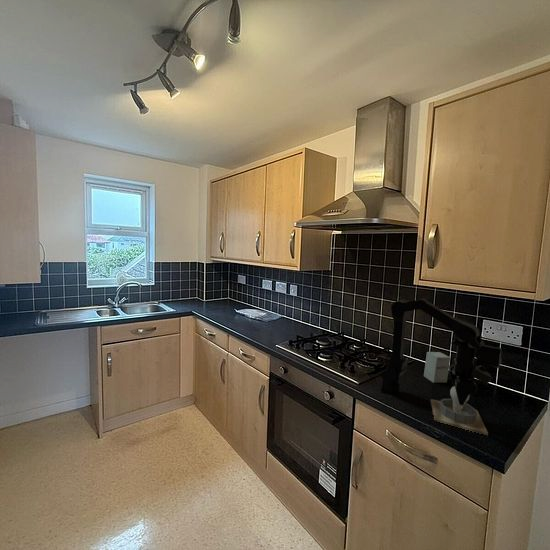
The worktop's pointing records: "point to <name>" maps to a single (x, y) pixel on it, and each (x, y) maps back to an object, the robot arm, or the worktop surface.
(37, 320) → the worktop surface
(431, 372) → the supplement box
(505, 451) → the worktop surface
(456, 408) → the lightbulb
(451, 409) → the socket board
